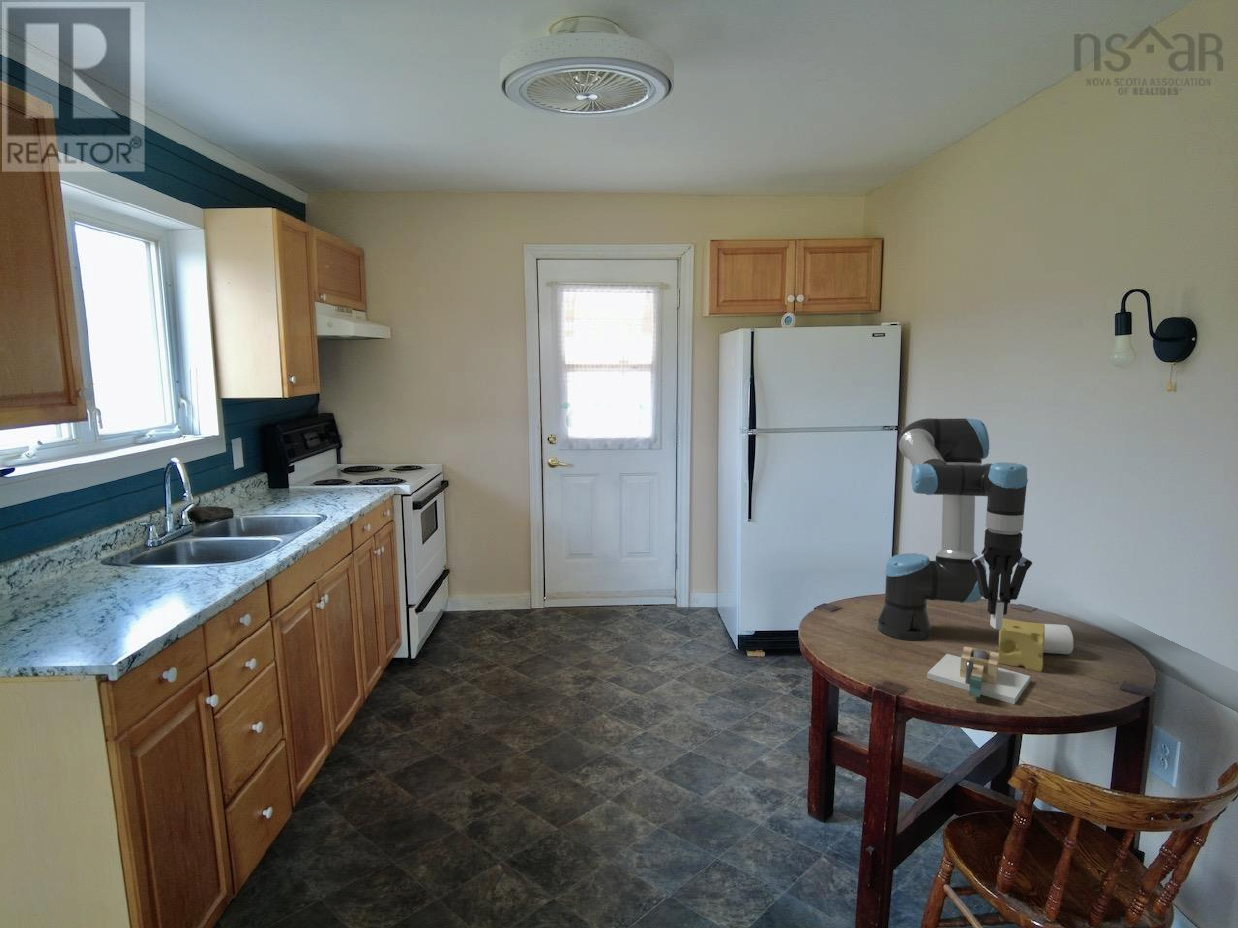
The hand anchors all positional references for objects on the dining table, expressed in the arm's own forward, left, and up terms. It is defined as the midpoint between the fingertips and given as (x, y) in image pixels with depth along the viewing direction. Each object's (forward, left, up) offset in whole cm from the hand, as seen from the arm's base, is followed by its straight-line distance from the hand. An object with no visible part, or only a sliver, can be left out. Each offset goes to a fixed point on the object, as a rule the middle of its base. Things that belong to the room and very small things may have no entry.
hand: (995, 626), depth 158 cm
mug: (+3, +43, -19) cm, 47 cm away
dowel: (-6, +3, -17) cm, 18 cm away
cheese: (0, +29, -19) cm, 35 cm away
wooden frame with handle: (-4, +5, -17) cm, 18 cm away
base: (-5, +10, -19) cm, 22 cm away
